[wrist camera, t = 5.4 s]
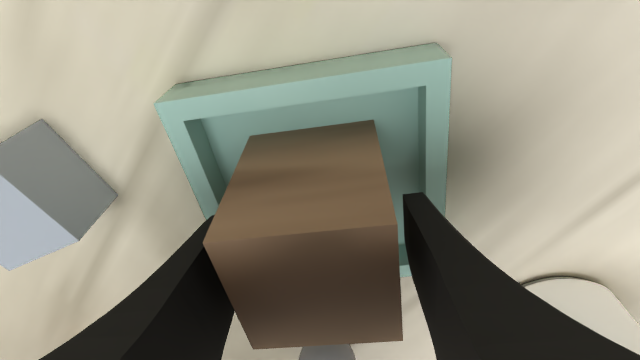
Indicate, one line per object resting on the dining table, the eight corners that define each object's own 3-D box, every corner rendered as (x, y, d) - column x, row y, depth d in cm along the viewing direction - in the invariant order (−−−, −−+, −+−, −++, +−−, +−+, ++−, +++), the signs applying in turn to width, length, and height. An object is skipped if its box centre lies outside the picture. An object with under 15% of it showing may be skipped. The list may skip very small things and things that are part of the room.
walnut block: (381, 217, 15) (402, 340, 10) (277, 227, 15) (253, 349, 11) (373, 119, 12) (397, 223, 8) (249, 135, 13) (202, 242, 8)
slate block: (119, 192, 15) (79, 240, 13) (57, 221, 16) (9, 270, 14) (44, 117, 13) (-22, 156, 11) (-21, 155, 14) (-94, 199, 12)
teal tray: (432, 243, 16) (442, 273, 15) (246, 260, 17) (238, 290, 16) (436, 42, 11) (451, 57, 10) (175, 84, 12) (153, 103, 11)
